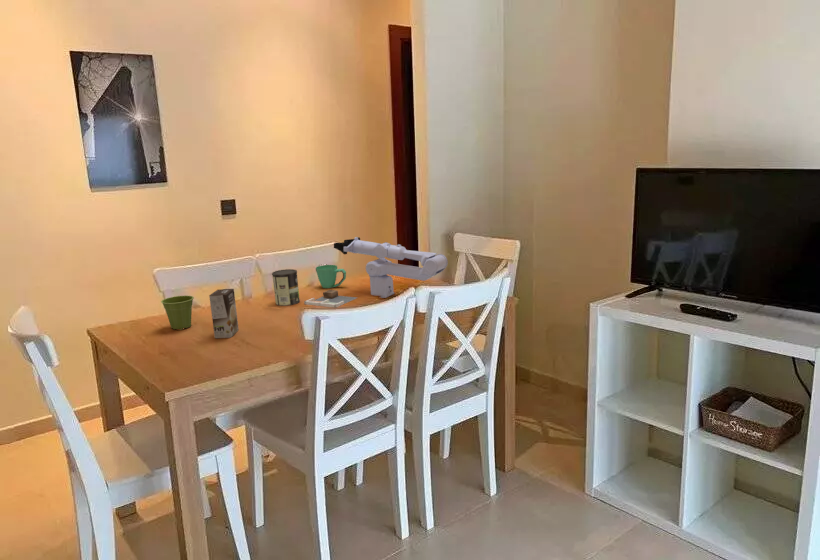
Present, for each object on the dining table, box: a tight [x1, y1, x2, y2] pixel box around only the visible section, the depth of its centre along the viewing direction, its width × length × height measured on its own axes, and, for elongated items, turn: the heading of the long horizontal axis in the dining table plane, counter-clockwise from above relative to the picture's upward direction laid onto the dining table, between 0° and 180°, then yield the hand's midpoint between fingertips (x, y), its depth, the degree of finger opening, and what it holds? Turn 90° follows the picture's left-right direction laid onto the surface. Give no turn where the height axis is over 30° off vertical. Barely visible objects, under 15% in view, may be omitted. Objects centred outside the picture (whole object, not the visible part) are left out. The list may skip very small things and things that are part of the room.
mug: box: [315, 264, 347, 289], centre depth 291 cm, size 15×10×10 cm
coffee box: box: [208, 288, 239, 339], centre depth 232 cm, size 9×6×16 cm
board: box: [303, 295, 358, 309], centre depth 268 cm, size 16×16×2 cm
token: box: [322, 289, 339, 299], centre depth 274 cm, size 4×4×2 cm
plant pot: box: [160, 295, 195, 330], centre depth 244 cm, size 12×12×11 cm
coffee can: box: [271, 268, 301, 307], centre depth 268 cm, size 10×10×14 cm
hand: (339, 243), depth 280 cm, fingers open, 7 cm apart
